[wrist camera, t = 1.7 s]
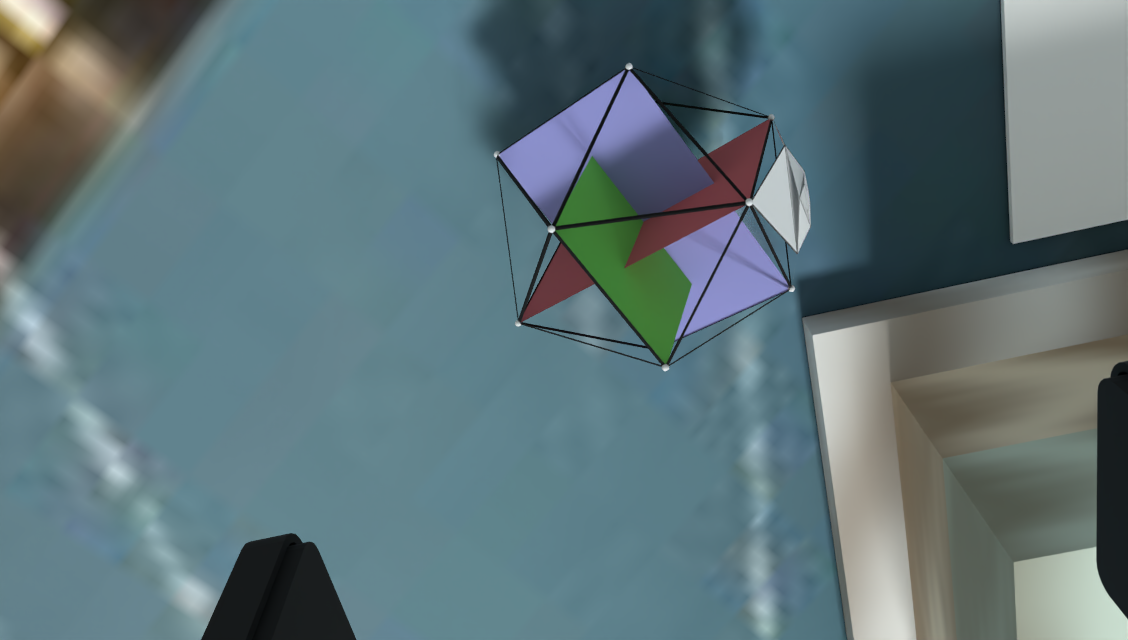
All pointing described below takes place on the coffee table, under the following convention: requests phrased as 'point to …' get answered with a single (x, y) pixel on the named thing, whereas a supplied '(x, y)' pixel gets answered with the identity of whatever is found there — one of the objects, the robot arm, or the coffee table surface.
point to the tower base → (913, 350)
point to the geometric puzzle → (654, 214)
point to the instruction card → (1065, 114)
